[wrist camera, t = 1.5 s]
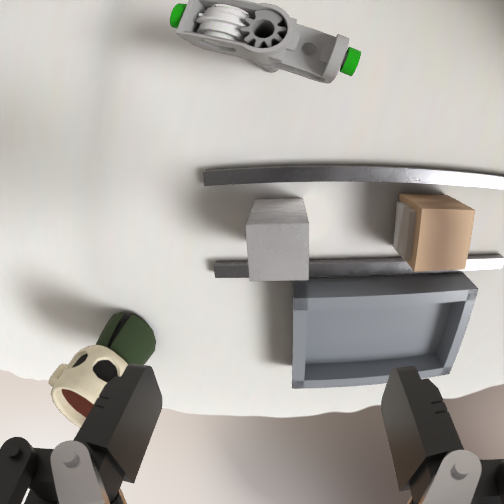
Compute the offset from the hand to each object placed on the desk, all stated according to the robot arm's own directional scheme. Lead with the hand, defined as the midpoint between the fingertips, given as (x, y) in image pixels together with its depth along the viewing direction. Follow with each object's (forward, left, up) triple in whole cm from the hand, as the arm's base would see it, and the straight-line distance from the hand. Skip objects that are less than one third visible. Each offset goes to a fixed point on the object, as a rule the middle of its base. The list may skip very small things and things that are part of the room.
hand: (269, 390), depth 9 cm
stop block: (0, 0, -19) cm, 19 cm away
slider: (-13, 0, -19) cm, 23 cm away
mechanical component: (0, -13, -19) cm, 23 cm away
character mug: (+17, +13, -19) cm, 29 cm away
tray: (-10, +11, -19) cm, 24 cm away
